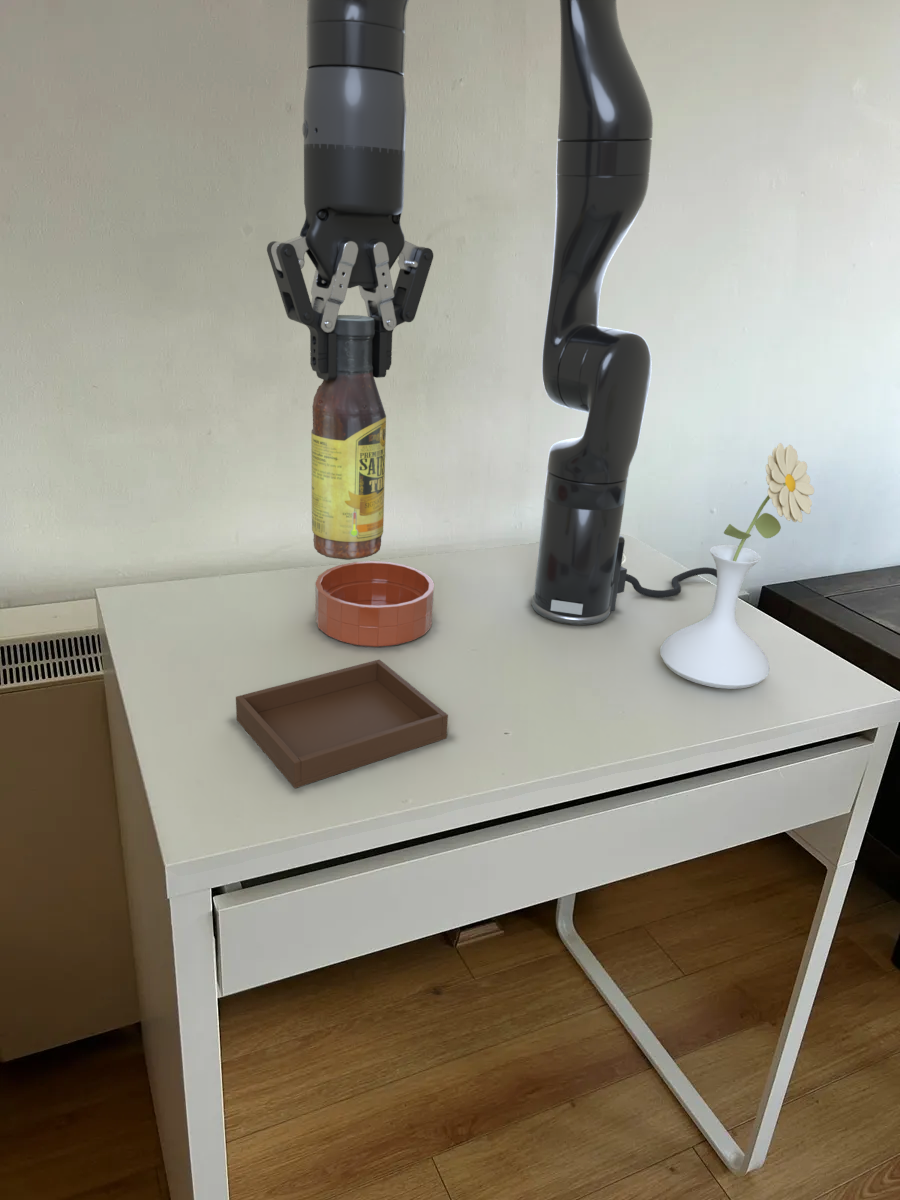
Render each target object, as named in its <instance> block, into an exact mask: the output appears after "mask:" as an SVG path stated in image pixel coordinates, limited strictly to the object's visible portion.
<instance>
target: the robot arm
mask: <svg viewBox="0 0 900 1200" xmlns="http://www.w3.org/2000/svg"><path fill="white" fill-rule="evenodd" d="M409 1H410V0H307V2H306V68H307V69H306V80H305V90H304V99H303V123H302V128H301V129H302V130H301V131H302V136H303V202H304V203H303V204H304V209H305V219H304V223H303V225H302V227H301V230H300V233H299V236H296V237H294V238H291V239H288V240H284V241H275V240H273V241H270V242H269V243H268V244H267V247H266V251H267V255H268V259H269V263H270V265H271V268H272V272H273V274H274V279H275V281H276V284H277V288H278V291H279V294H280V297H281V301H282V304H283V307H284V310H285V314H286V316H287V318H288V319H289V320H290V321H294V322H296V323H299V324H302V325H304V326H306V327H307V329H308V330H309V339H310V340H309V341H310V342H309V343H310V345H309V346H310V347H309V356H310V359H309V360H310V363H309V364H310V367H311V369H312V371H313V372H315V373H316V376H317V378H319V379H321V380H322V381H323V380H326V381H329V380H335V379H336V348H337V333H334V332H332V331H333V330H334V328H335V324H336V320H337V316H338V315H339V312H340V307H341V305H342V304H344V302H345V300H346V296H347V292H348V289H352V288H356V287H358V289H359V294H360V297H361V299H362V300H363V301H364V304H365V308H366V313H367V317H371V318H374V322H375V335H374V337H373V339H372V366H373V376H374V378H375V379H379V378H380V379H381V378H386V376H387V371H389V370H390V368H391V366H392V360H393V359H392V355H393V332H394V330H395V329H396V327H398V326H399V325H402V324H403V323H411V322H413V321H414V320H415V318H416V315H417V312H418V308H419V305H420V302H421V299H422V296H423V293H424V289H425V286H426V282H427V279H428V276H429V274H430V270H431V267H432V263H433V260H434V251H433V250H432V248H429V247H425V246H419V245H416V244H414V243H412V242H409V241H407V240H406V238H405V234H404V232H403V229H402V226H401V218H402V217H401V216H402V213H403V210H404V202H405V200H404V198H405V174H406V173H405V171H406V169H405V168H406V144H407V143H406V142H407V139H406V138H407V101H406V89H405V77H404V76H405V67H406V66H405V65H406V37H407V36H406V33H407V10H408V5H409ZM559 10H560V11H559V13H560V68H559V69H560V70H559V71H560V73H559V74H560V76H559V77H560V79H559V111H558V122H557V123H558V125H557V137H556V139H557V141H556V165H555V221H554V237H553V238H554V239H553V256H552V269H551V270H552V271H551V279H550V280H551V281H550V290H549V298H548V305H547V314H546V320H545V321H546V322H545V328H544V329H545V330H544V337H543V346H542V355H541V376H542V377H541V378H542V383H543V388H544V390H545V393H546V395H547V397H548V398H549V399H550V401H551V402H553V403H554V404H556V405H558V406H561V407H563V408H567V409H570V410H575V411H578V412H583V413H587V420H586V423H585V428H584V430H583V434H582V435H581V436H580V437H575V438H573V437H572V438H568V439H564V440H560V441H556V442H555V443H553V444H552V445H551V447H550V448H549V451H548V457H547V467H546V474H545V475H546V476H545V485H544V495H543V506H542V515H541V526H540V535H539V543H538V544H539V545H538V554H537V562H536V563H537V564H536V572H535V581H534V582H535V583H534V591H533V592H534V594H533V596H532V602H531V603H532V606H531V607H532V609H533V610H534V612H536V613H537V614H538V615H539V616H541V617H543V618H545V619H547V620H550V621H553V622H556V623H560V624H566V625H575V626H583V625H586V626H587V625H593V624H597V623H601V622H603V621H605V620H606V619H608V618H609V616H610V613H612V612H615V611H616V605H617V598H618V594H621V593H624V592H625V587H626V582H628V583H630V584H631V585H632V587H633V589H634V591H635V592H636V593H638V594H640V595H643V596H647V597H651V598H669V597H674V596H675V597H676V596H678V595H679V594H680V593H681V591H682V586H681V584H680V582H682V581H684V580H687V579H689V578H692V577H695V576H699V575H711V576H713V577H715V578H716V579H717V569H716V568H713V567H706V566H705V567H696V568H693V569H688V570H687V571H683V572H682V573H679V574H676V575H675V576H673V577H672V579H671V582H670V584H671V586H672V588H671V589H664V590H661V589H660V590H659V589H650V588H646V587H643V586H642V585H641V583H640V580H639V579H638V578H637V577H635V576H633V575H631V574H629V573H628V569H627V568H625V567H623V566H622V563H623V555H624V548H625V544H626V543H625V542H626V541H625V537H624V536H623V535H621V529H622V523H623V515H624V508H625V500H626V493H627V486H628V478H629V473H630V467H631V463H632V461H633V459H634V457H635V454H636V451H637V449H638V446H639V443H640V437H641V431H642V426H643V420H644V417H645V412H646V406H647V400H648V395H649V391H650V385H651V380H652V369H653V368H652V366H653V365H652V354H651V349H650V347H649V344H648V342H647V341H646V339H645V338H644V337H643V336H642V335H640V334H638V333H635V332H631V331H626V330H624V329H623V330H622V329H617V328H611V327H605V326H600V325H599V312H600V311H599V310H600V299H601V293H602V286H603V282H604V278H605V275H606V272H607V270H608V267H609V264H610V262H611V260H612V258H613V257H614V255H615V253H616V251H617V250H618V248H619V247H620V245H621V244H622V242H623V240H624V238H625V237H626V236H627V234H628V232H629V231H630V229H631V227H632V226H633V224H634V222H635V220H636V218H637V217H638V215H639V212H640V210H641V209H642V207H643V204H644V202H645V199H646V196H647V193H648V188H649V182H650V169H651V157H652V145H653V144H652V143H653V140H652V139H653V134H654V133H653V132H654V121H653V120H654V119H653V118H654V117H653V112H652V107H651V104H650V101H649V97H648V95H647V92H646V89H645V87H644V84H643V82H642V80H641V77H640V75H639V73H638V70H637V67H636V65H635V64H634V61H633V59H632V57H631V55H630V53H629V50H628V48H627V45H626V42H625V39H624V37H623V34H622V31H621V27H620V21H619V16H618V8H617V0H559ZM305 254H307V256H308V258H309V260H310V261H311V263H312V264H313V266H314V267H315V272H314V275H313V281H312V285H311V290H310V294H311V297H312V298H310V295H309V291H308V288H307V284H306V282H305V278H304V275H303V270H302V269H303V268H304V266H305ZM396 261H397V265H398V267H399V271H398V275H397V278H396V281H395V284H394V285H393V279H392V276H391V269H392V267H393V266H394V264H395V262H396Z"/></svg>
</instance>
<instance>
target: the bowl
mask: <svg viewBox="0 0 900 1200" xmlns="http://www.w3.org/2000/svg"><path fill="white" fill-rule="evenodd" d="M314 587H315V589H314V590H315V592H314V593H315V594H314V595H315V598H314V599H315V603H314V605H315V611H314V612H315V616H314V617H315V622H316V625H317V628H318V629H319V630H320V631H321V632H322V633H324V634H325V635H326V636H328V637H330V638H332V639H335V640H337V641H340V642H343V643H346V644H350V645H354V646H359V647H375V648H376V647H377V648H378V647H379V648H382V647H392V646H398V645H402V644H405V643H409V642H412V641H415V640H417V639H419V638H421V637H423V636H425V635H426V633H427V632H428V631H429V630H431V628H432V625H433V609H434V590H435V582H434V581H433V579H432V578H431V577H430V576H429V575H428V574H427V573H425V572H423V571H421V570H420V569H418V568H415V567H412V566H409V565H407V564H401V563H396V562H390V561H379V560H365V561H353V562H348V563H343V564H338V565H336V566H333V567H329V568H328V569H326V570H324V571H323V572H321V573H320V574H319V575H318V576H317V579H316V581H315V584H314Z"/></svg>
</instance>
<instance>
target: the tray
mask: <svg viewBox="0 0 900 1200" xmlns="http://www.w3.org/2000/svg"><path fill="white" fill-rule="evenodd" d="M235 711H236V712H235V713H236V721H237V722H238V723H239V724H240V726H241V727H242V729H244V731H245V732H246V733H247V734H248V735H249V737H250V738H252V740H253V741H254V742H255V743H256V744H257V746H258V747H259V748H260V749H261V750H262V752H263V753H264V754H265V755H266V756H267V757H268V759H269V760H270V761H271V762H272V763H273V764H274V766H275V767H276V768H277V769H278V771H279V772H280V773H281V774H282V775H283V776H284V777H285V779H286V780H287V781H288V783H290V785H291V786H292V787H293V788H294V789H298V788H300V787H303V786H306V785H310V784H312V783H316V782H318V781H322V780H324V779H327V778H330V777H334V776H337V775H340V774H343V773H347V772H349V771H351V770H355V769H358V768H362V767H364V766H367V765H369V764H373V763H376V762H379V761H382V760H385V759H388V758H392V757H394V756H397V755H401V754H403V753H406V752H409V751H413V750H415V749H418V748H422V747H424V746H427V745H430V744H433V743H436V742H439V741H443V740H446V739H447V737H448V722H449V714H447V713H446V712H445V711H444V710H443V709H442V708H440V707H439V706H437V705H436V703H434V702H433V701H432V700H430V699H429V698H428V697H427V696H426V695H424V694H423V693H421V691H419V690H418V689H417V688H416V687H414V686H413V684H411V683H410V682H408V681H407V680H406V679H404V677H402V676H401V675H400V674H398V673H397V672H396V671H394V670H393V669H392V668H391V667H390V666H388V664H386V663H385V662H383V661H382V660H381V659H376V660H371V661H367V662H364V663H360V664H356V665H352V666H347V667H345V668H341V669H337V670H333V671H329V672H325V673H321V674H317V675H314V676H309V677H305V678H302V679H299V680H295V681H291V682H287V683H283V684H280V685H276V686H272V687H267V688H264V689H260V690H256V691H252V692H248V693H244V694H242V695H241V694H240V695H236V696H235Z"/></svg>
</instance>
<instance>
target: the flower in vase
mask: <svg viewBox="0 0 900 1200" xmlns="http://www.w3.org/2000/svg"><path fill="white" fill-rule="evenodd" d="M807 471H808V464H807V462H806V461H804V460H803V461H801V460H799V456H798V450H797V449H795V448H794V447H793V445H792V444H788V445H787V446H786V447H784V445H783V443H782V442H778V444H777V446H776V447H773V449H772V453H771V454H769V455H768V456H767V463H766V465H765V472H766V476H765V481H766V484H767V485H768V488H767V496H766V497H765V499H764V500H763V501H762V503H761V504H760V506H759V507H758V509H757V511H756V513H755V515H754V517H753V518H752V521H751V523H750V524H749V526H748V528H747V529H746V531H742V530H739V529H738V528H736V527H735V526H733V524H731V523H729V524H728V525H727V527H726V528H725V529H724V531H723V534H724V535H726V536H729V537H732V538H735V539H738V540H741V541H740V543H739V545H735V544H717V545H714V546H711V547H710V548H709V553H710V555H711V556H712V558H713V560H714V563H715V569H716V570H717V578H716V588H715V589H716V590H715V596H714V601H713V605H712V608H711V611H710V612H709V613H708V615H707V616H706V617H705V618H702V619H701V620H699V621H697V622H695V623H692V624H690V625H688V626H685V627H682V628H680V629H678V630H676V631H675V632H673V633H672V634H670V635H669V636H668V637H666V638H665V640H664V641H663V642H662V644H661V646H660V649H659V654H660V656H661V659H662V661H663V662H664V665H666V667H667V668H668V669H669V670H670V671H672V672H673V673H674V674H675V675H677V676H679V677H681V678H683V679H684V680H688V681H689V682H693V683H696V684H698V685H701V686H702V685H703V686H706V687H711V688H717V689H731V690H735V689H736V690H737V689H746V688H751V687H753V686H756V685H757V684H760V683H761V682H762V681H764V680H765V679H766V678H767V677H768V676H769V674H770V663H769V658H768V656H767V654H765V652H764V651H763V650H762V648H761V646H760V645H759V644H758V643H757V642H756V641H755V640H754V639H753V638H752V637H751V636H750V635H749V634H748V633H746V631H744V629H743V628H742V627H741V626H740V625H739V623H738V621H737V617H736V611H737V610H736V609H737V604H738V599H739V596H740V593H741V588H742V585H743V583H744V581H745V579H746V577H747V575H748V573H749V572H750V570H751V569H752V568H753V567H754V566H755V565H756V564H757V563H759V562H760V561H761V559H762V557H761V555H760V553H758V552H757V551H755V550H754V549H751V548H748V547H746V546H745V547H744V544H745V543H746V540H747V539H749V538H750V537H751V536H752V534H750V533H751V531H752V530H753V528H754V526H755V528H756V531H757V532H758V533H759V534H760V535H761V536H762V537H763V538H764V539H771V538H773V537H775V536H776V535H778V534H779V532H781V530H782V526H781V523H780V521H779V520H778V519H777V518H776V517H775V516H774V515H772V514H771V513H768V512H763V513H761V512H762V511H763V509H764V508H765V506H766V505H767V503H768V502H769V501H770V500H771V504H772V505H773V507H774V508H776V512H777V515H778V516H779V517H783V516H784V518H785V519H786V520H787V521H788V522H790V521H792V522H793V523H797V522H798V523H803V512H804V513H805V514H807V515H810V514H811V512H812V509H811V507H812V505H813V501H812V499H811V498H810V496H812V495H814V493H815V487H814V486H813V485H812V484H811V477H810V475H809V474H808V473H807ZM760 514H761V515H760Z"/></svg>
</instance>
